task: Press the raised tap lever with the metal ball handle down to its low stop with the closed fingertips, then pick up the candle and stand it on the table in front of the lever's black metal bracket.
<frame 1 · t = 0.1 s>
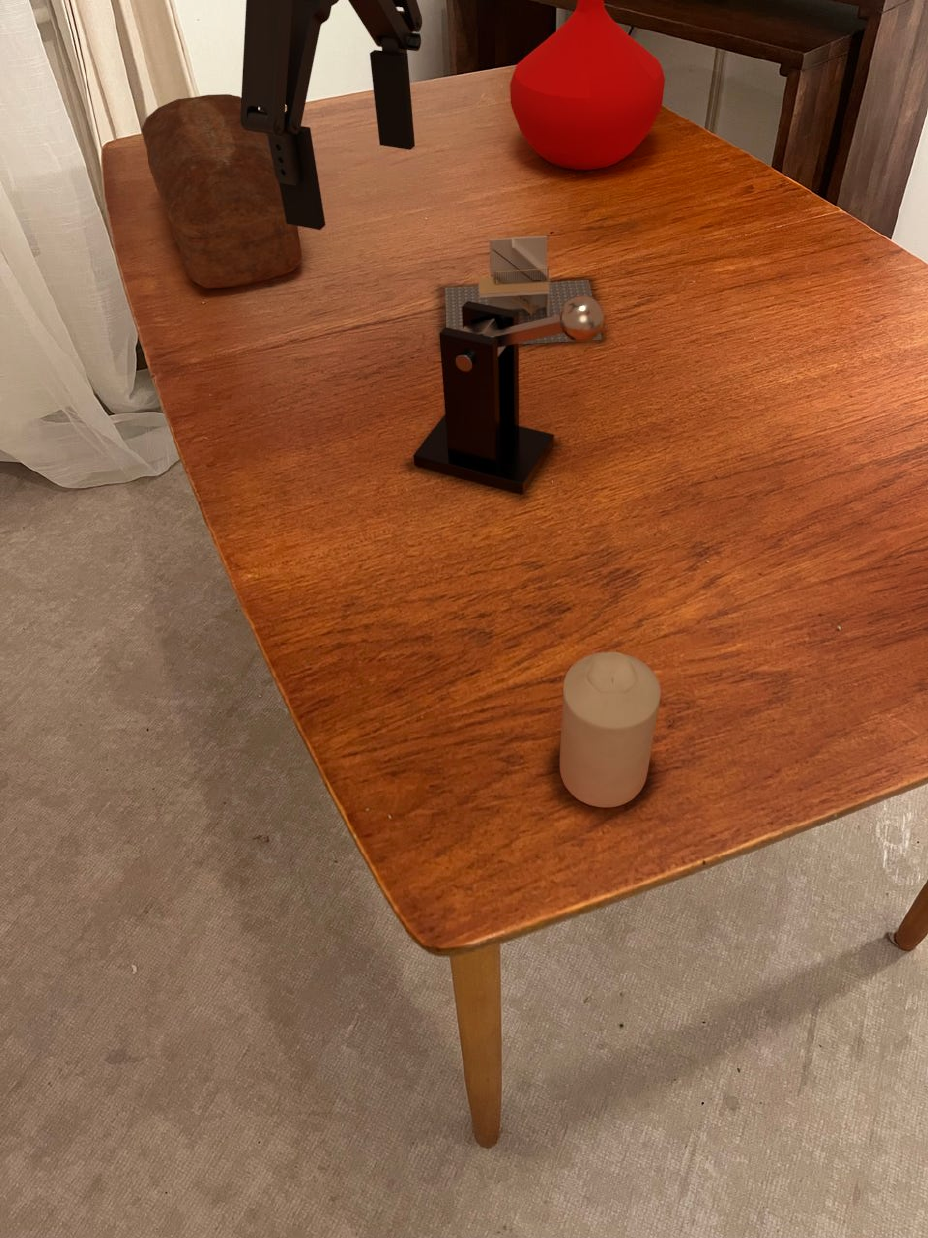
hand: (354, 183, 72), 21 cm above the table, tool pointing down, fingers open, 13 cm apart
lever: (530, 331, 73), point 13 cm above the table, hinge at 25.0°
bread: (232, 236, 113), on the table
candle: (602, 772, 62), on the table
bracket: (484, 455, 84), on the table
architectural model: (520, 314, 99), on the table
vase: (584, 155, 123), on the table
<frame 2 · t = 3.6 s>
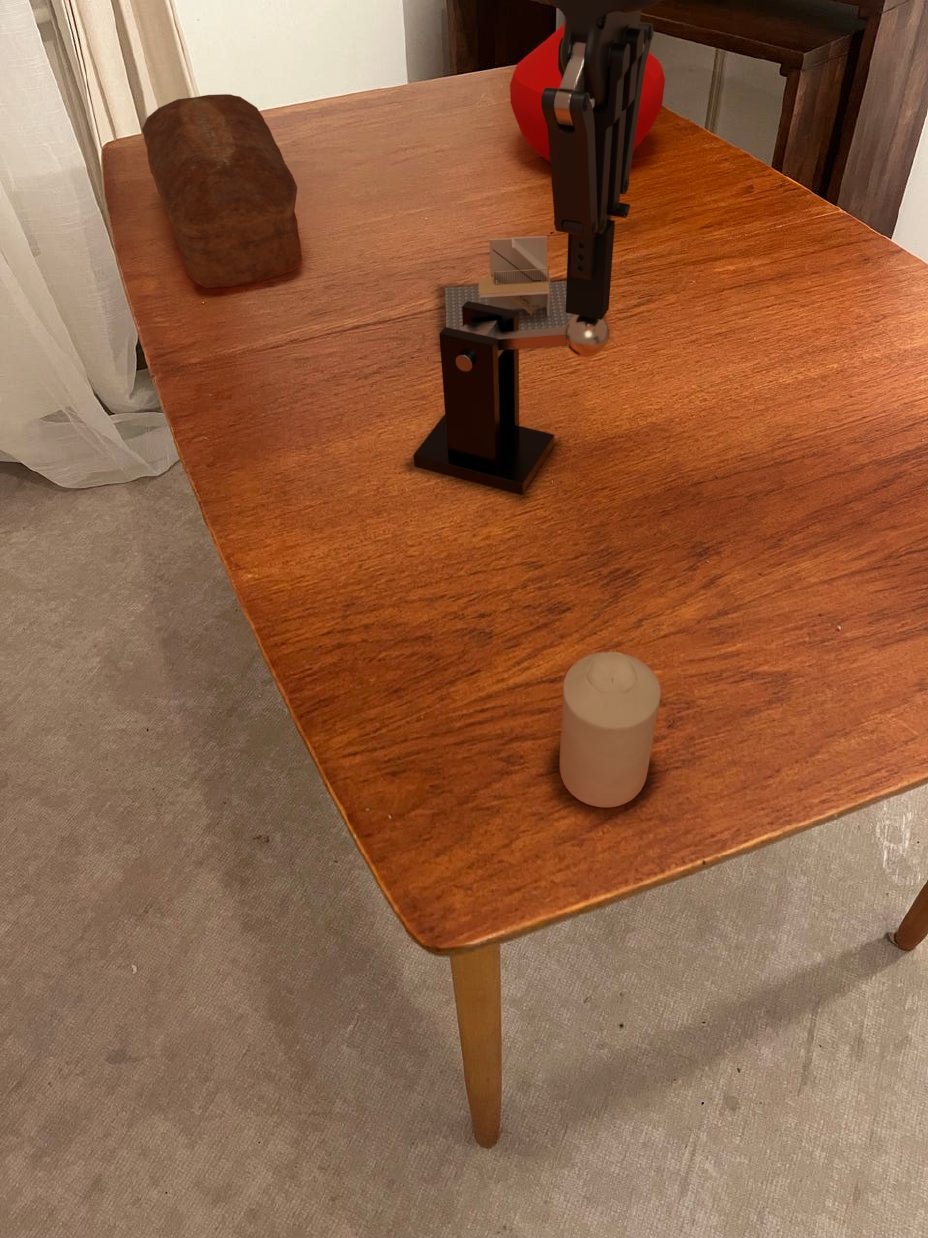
hand: (587, 310, 70), 16 cm above the table, tool pointing down, fingers closed
lever: (533, 338, 73), point 12 cm above the table, hinge at 17.2°, touching gripper
everything else where it was.
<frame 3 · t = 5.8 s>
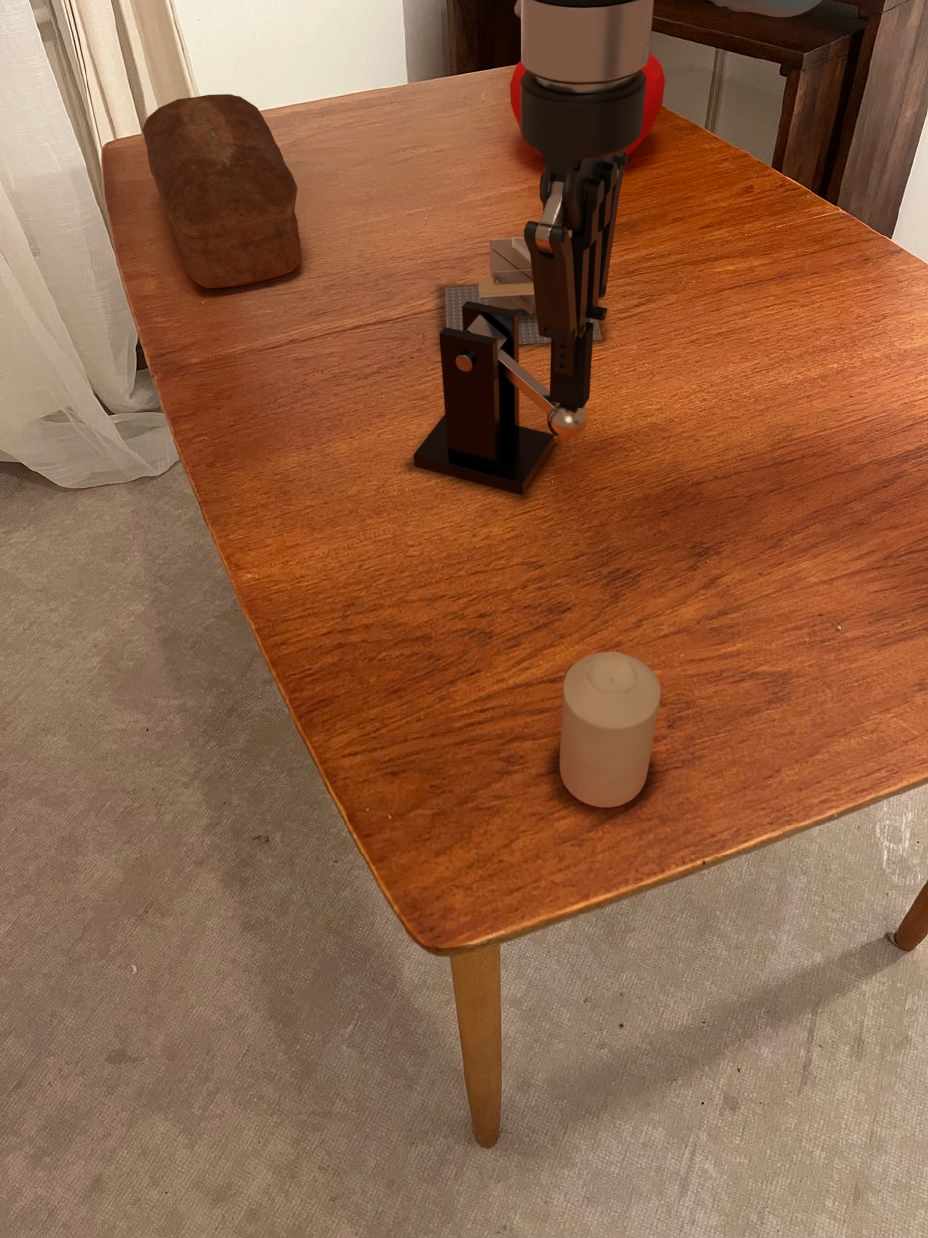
hand: (569, 399, 76), 8 cm above the table, tool pointing down, fingers closed
lever: (525, 382, 76), point 8 cm above the table, hinge at -35.1°, touching gripper
everything else where it was.
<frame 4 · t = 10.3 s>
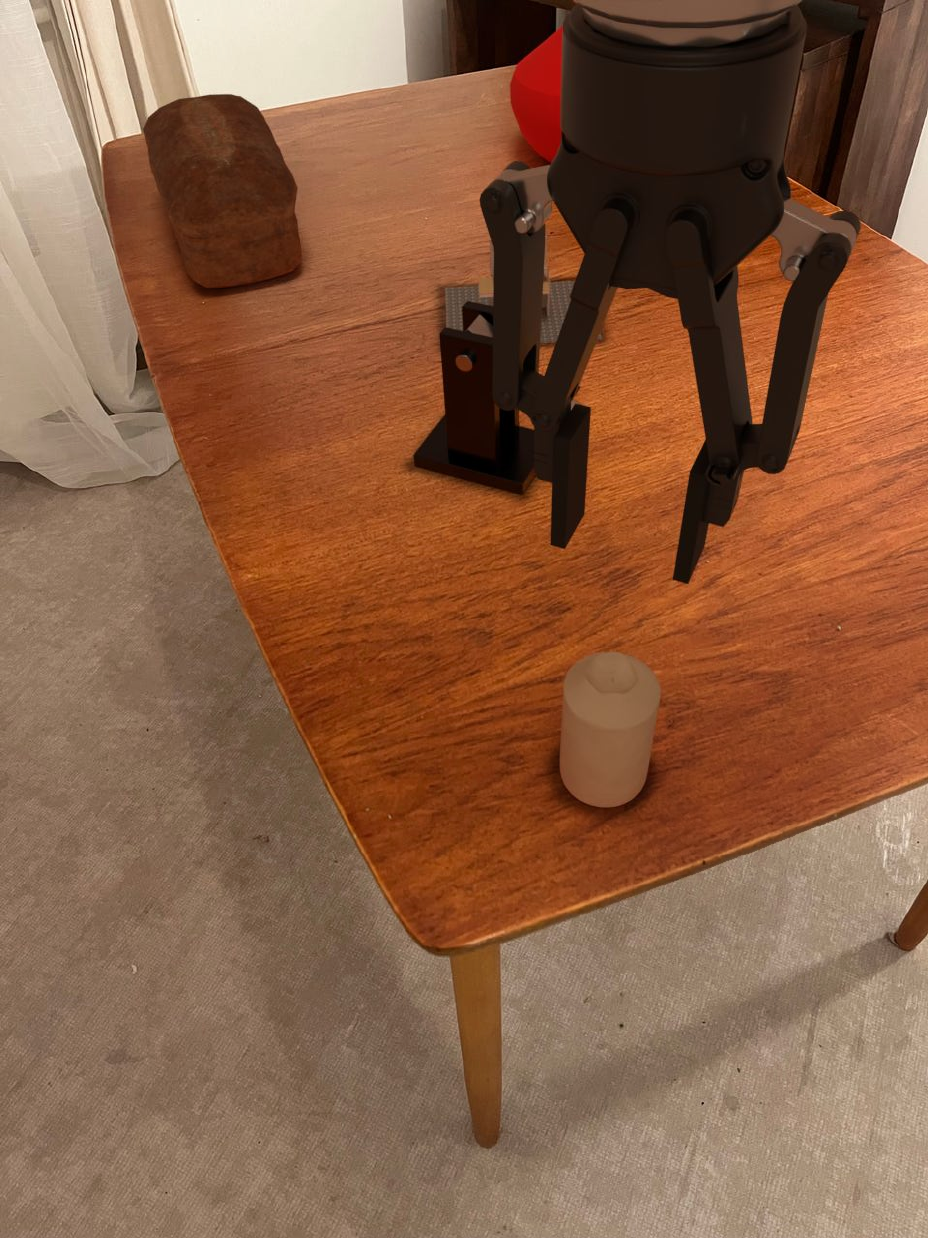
hand: (627, 545, 47), 20 cm above the table, tool pointing down, fingers open, 5 cm apart
lever: (525, 382, 76), point 8 cm above the table, hinge at -35.2°
everything else where it was.
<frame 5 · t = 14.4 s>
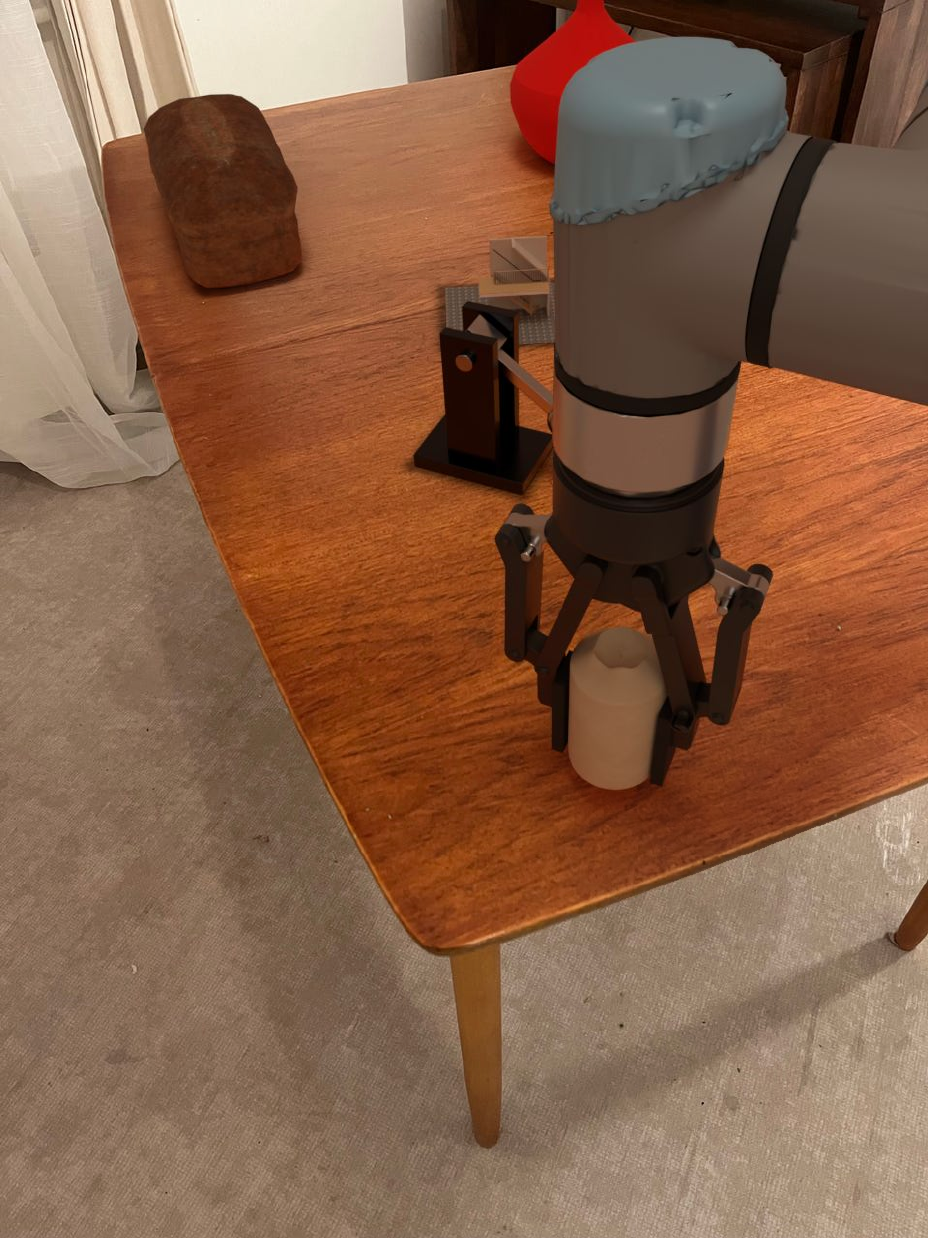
hand: (613, 750, 60), 3 cm above the table, tool pointing down, fingers closed on candle, 5 cm apart
candle: (612, 754, 60), point 2 cm above the table, touching gripper
everything else where it was.
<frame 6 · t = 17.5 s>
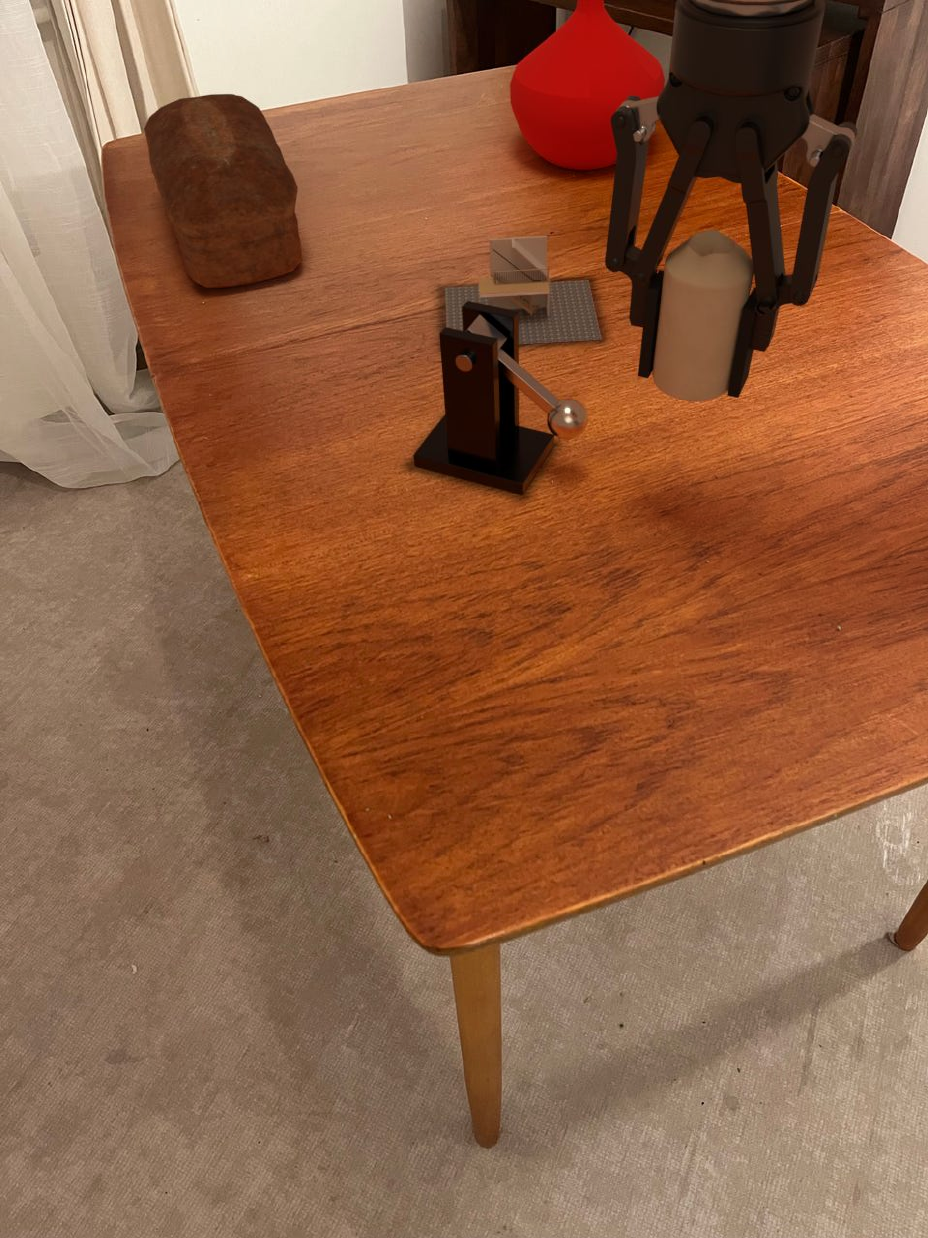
hand: (692, 375, 67), 13 cm above the table, tool pointing down, fingers closed on candle, 5 cm apart
candle: (691, 381, 68), point 13 cm above the table, touching gripper
everything else where it was.
when the fingers open (0 cm above the table, at t = 20.6 s): candle stays where it is, on the table.
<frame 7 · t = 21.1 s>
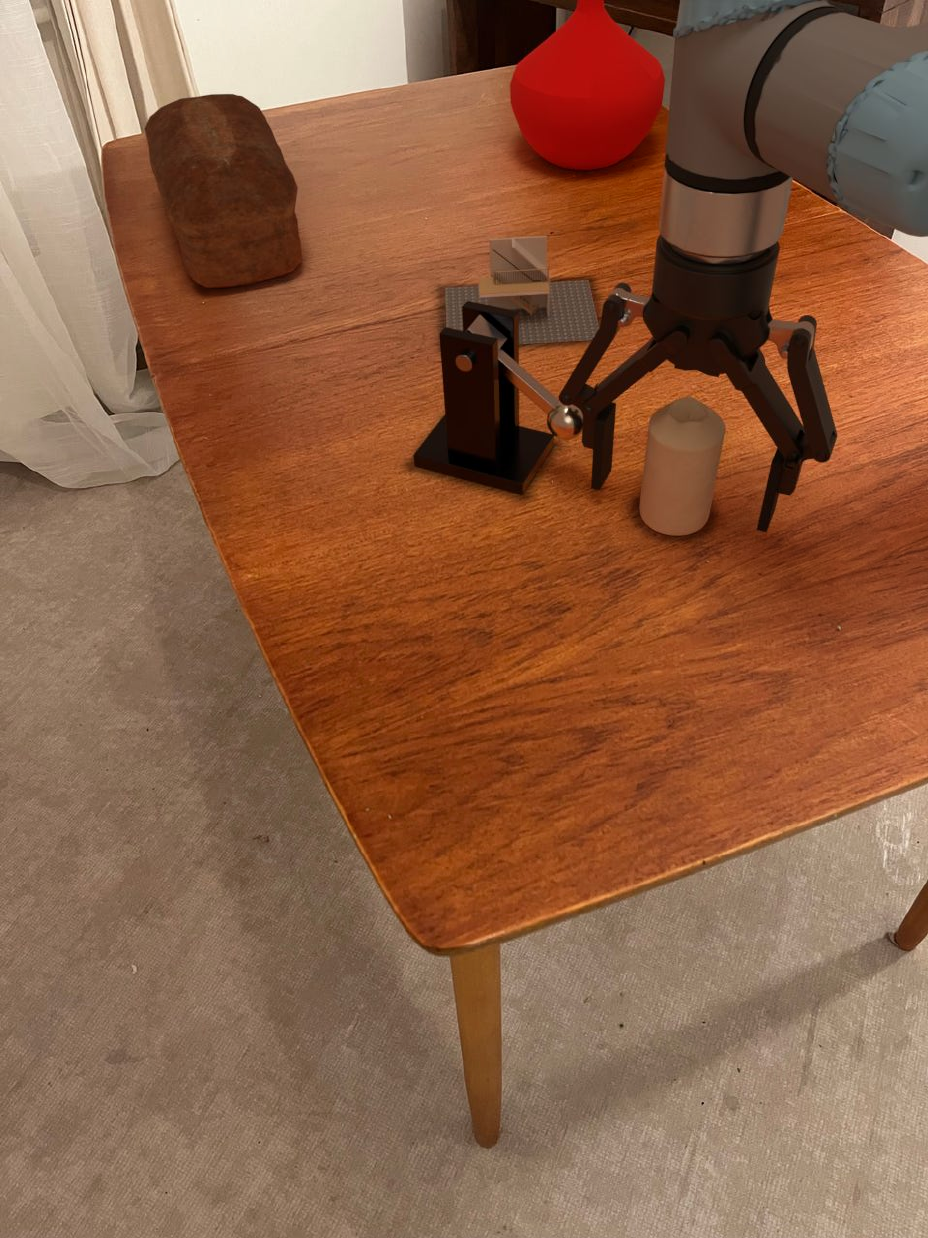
hand: (681, 499, 76), 2 cm above the table, tool pointing down, fingers open, 12 cm apart
lever: (525, 382, 76), point 8 cm above the table, hinge at -35.4°, touching gripper
candle: (673, 514, 78), on the table
everything else where it was.
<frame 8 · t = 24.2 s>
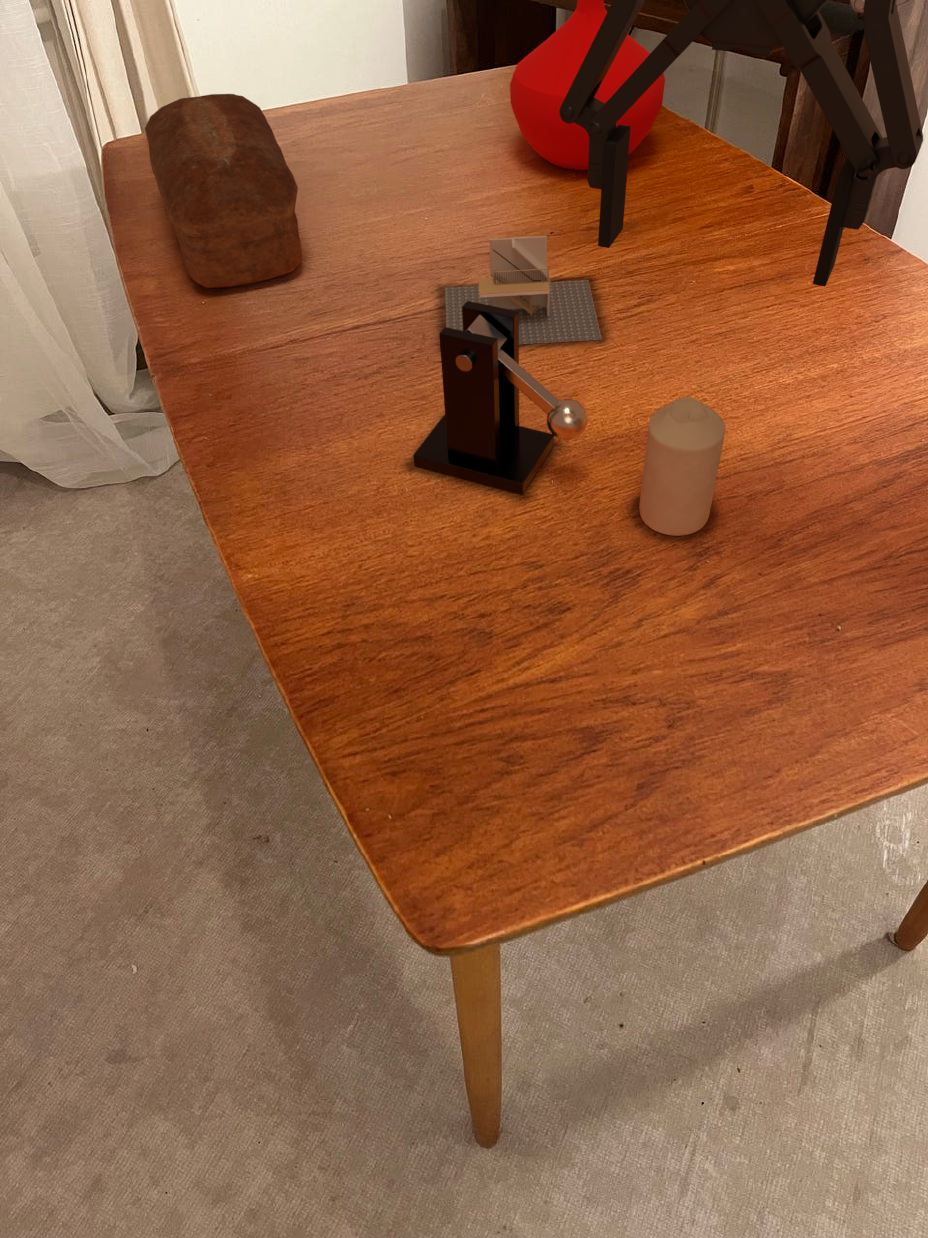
hand: (713, 255, 62), 22 cm above the table, tool pointing down, fingers open, 13 cm apart
lever: (525, 382, 76), point 8 cm above the table, hinge at -35.4°
everything else where it was.
at the end: lever at -35° (first picture: +25°); candle inside the target area on the table beside the bracket (0.5 cm from its centre), on the table; candle tilted 0° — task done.
